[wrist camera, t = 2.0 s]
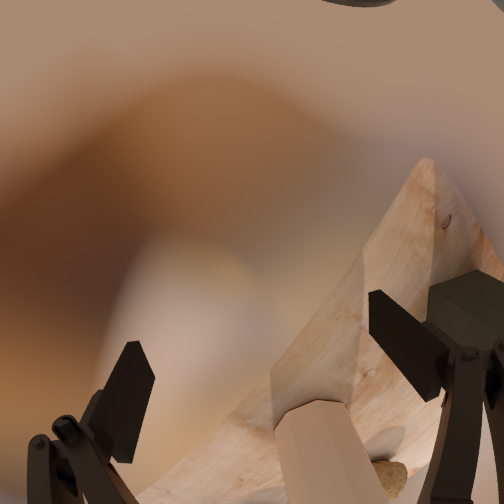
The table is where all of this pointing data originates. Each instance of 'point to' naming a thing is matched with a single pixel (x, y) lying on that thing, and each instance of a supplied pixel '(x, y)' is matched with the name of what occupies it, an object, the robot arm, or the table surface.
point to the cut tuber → (391, 477)
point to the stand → (469, 309)
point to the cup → (325, 457)
